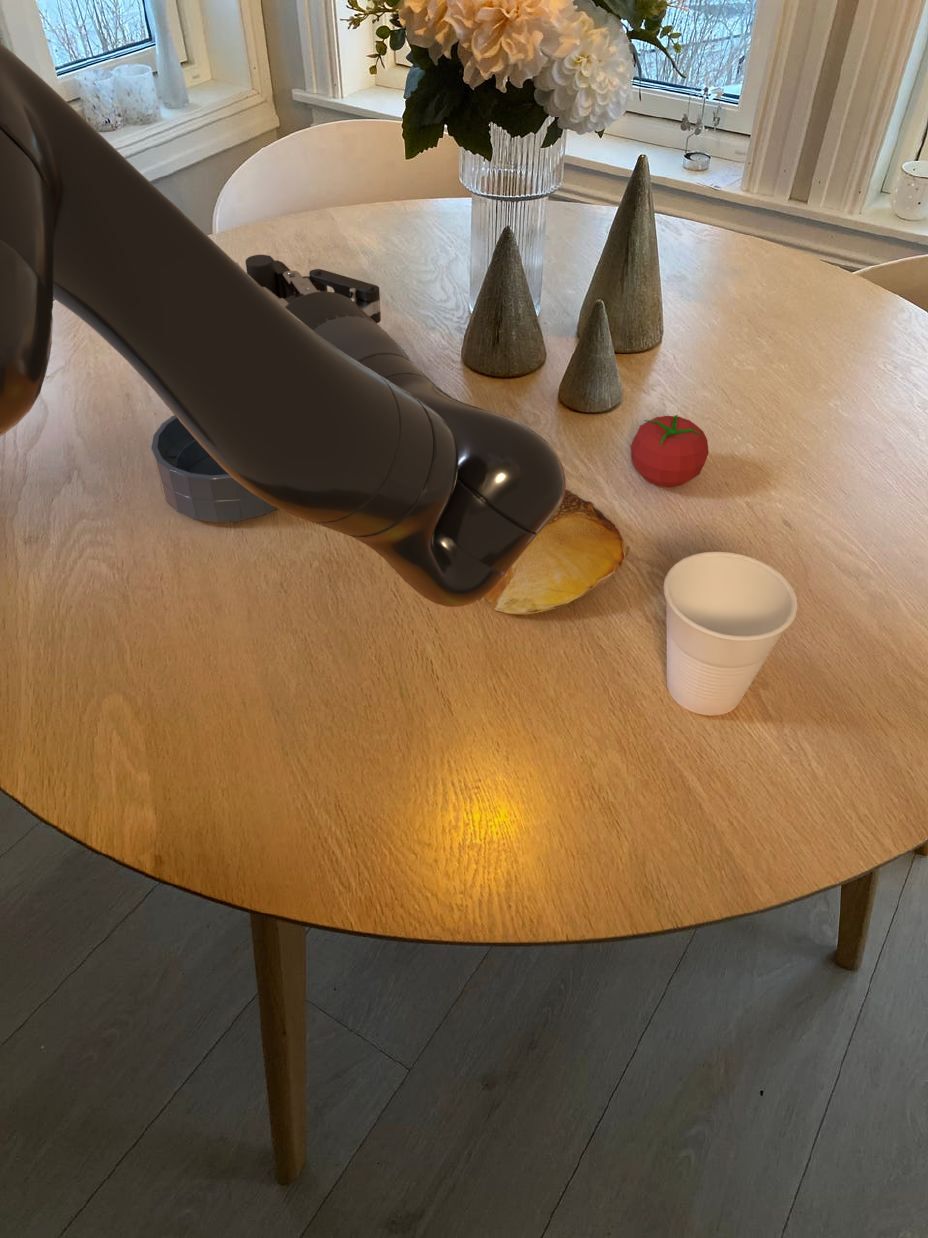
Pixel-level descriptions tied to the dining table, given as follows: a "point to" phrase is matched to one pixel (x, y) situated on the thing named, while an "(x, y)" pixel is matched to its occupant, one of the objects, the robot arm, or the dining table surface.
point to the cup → (721, 627)
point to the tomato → (669, 451)
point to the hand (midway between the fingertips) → (249, 272)
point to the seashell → (561, 561)
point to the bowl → (199, 479)
